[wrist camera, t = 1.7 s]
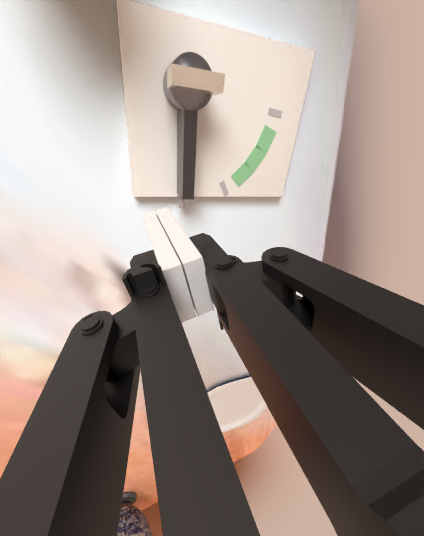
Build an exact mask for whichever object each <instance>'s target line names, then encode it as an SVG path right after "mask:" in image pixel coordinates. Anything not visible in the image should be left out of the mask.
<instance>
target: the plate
mask: <svg viewBox="0 0 424 536" xmlns="http://www.w3.org/2000/svg"><path fill="white" fill-rule="evenodd" d="M207 394H208V396H209V399H210V402H211V405H212V407H213V410H214V413H215V415H216V418H217V421H218V423H219V426H220V429H221V432H222V433H224V432H227V431H230V430H232V429H235V428H238V427H241V426H243V425H245V424H248V423H250V422H252V421H253V420H255V419H256V418H258V417H259V416H260V415H261V414H262V413H263V412H264V411H265V410H266V408H267V405H266V403H265V401H264V399H263V398H262V396H261V394H260V392H259V390H258V388H257V387H256V385H255V383H254V381H253V379H252V378H251V376H249V377H245V378H241V379H238V380H234V381H230V382H228V383H225V384H222V385H219V386H217V387H215V388H213V389H212V390H210V391H208V392H207Z"/></svg>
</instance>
